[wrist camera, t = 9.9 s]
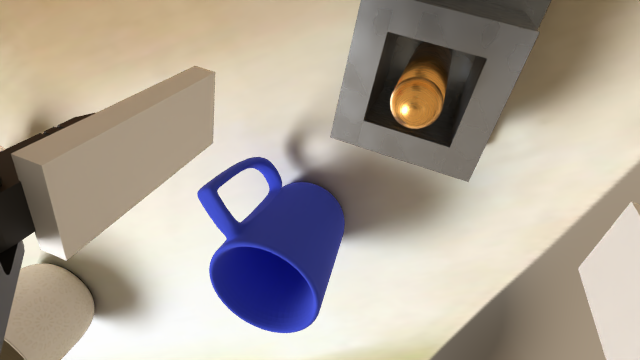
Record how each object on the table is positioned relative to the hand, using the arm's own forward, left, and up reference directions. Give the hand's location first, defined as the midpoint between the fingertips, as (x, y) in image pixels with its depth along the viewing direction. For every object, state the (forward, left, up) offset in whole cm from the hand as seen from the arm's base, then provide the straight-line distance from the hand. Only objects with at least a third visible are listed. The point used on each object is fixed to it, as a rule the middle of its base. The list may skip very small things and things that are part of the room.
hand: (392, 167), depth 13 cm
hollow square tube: (0, 0, -15) cm, 15 cm away
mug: (+14, -7, -16) cm, 23 cm away
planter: (+43, -37, -16) cm, 59 cm away
